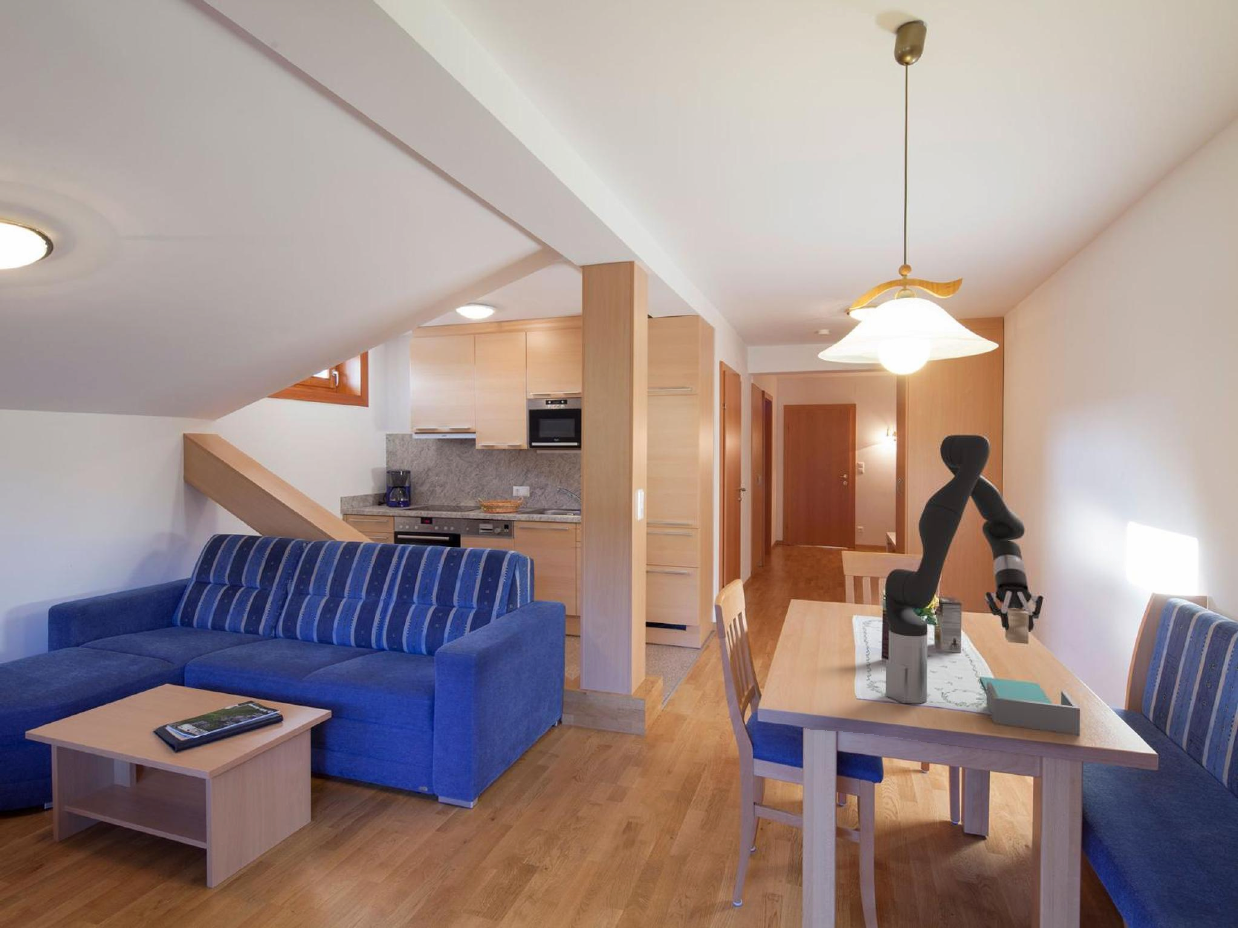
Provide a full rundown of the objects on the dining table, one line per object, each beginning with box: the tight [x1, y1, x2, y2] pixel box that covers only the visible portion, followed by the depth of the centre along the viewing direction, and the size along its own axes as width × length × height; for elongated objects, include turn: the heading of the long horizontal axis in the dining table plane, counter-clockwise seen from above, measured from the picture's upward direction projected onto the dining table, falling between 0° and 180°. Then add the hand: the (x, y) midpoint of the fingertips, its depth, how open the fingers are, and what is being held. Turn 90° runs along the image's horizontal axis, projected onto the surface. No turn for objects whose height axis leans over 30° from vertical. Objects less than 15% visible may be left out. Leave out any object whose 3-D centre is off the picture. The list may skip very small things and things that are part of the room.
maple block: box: [1005, 608, 1029, 645], centre depth 174 cm, size 4×4×8 cm
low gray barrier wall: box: [986, 682, 1081, 736], centre depth 158 cm, size 17×12×6 cm
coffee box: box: [933, 596, 963, 653], centre depth 217 cm, size 9×6×16 cm
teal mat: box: [979, 676, 1053, 704], centre depth 176 cm, size 14×18×1 cm
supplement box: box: [881, 608, 916, 663], centre depth 203 cm, size 9×5×16 cm, turn 105°
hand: (1018, 628), depth 172 cm, fingers closed on maple block, 4 cm apart
